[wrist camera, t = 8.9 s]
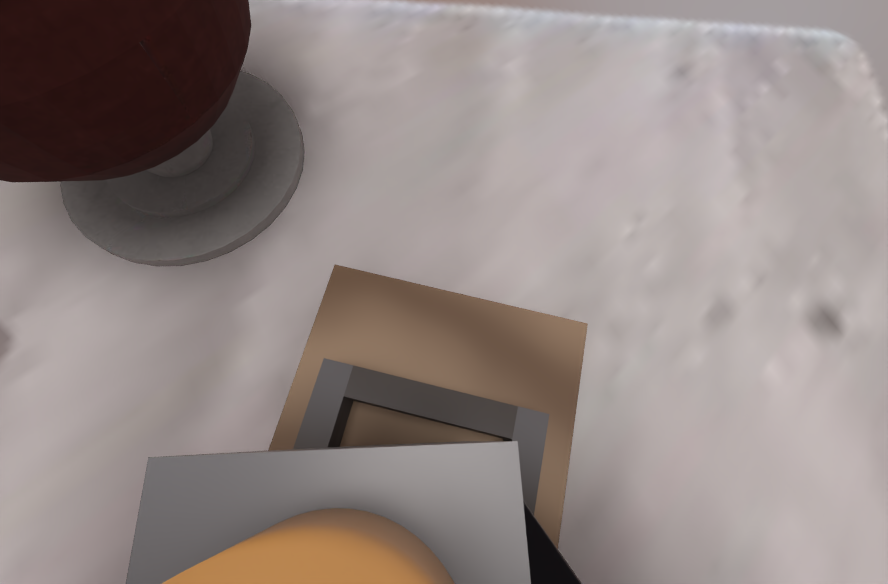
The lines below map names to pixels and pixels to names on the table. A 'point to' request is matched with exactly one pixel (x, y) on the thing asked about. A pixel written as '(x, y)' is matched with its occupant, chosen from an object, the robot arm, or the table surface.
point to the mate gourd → (146, 123)
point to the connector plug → (335, 516)
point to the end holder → (438, 378)
